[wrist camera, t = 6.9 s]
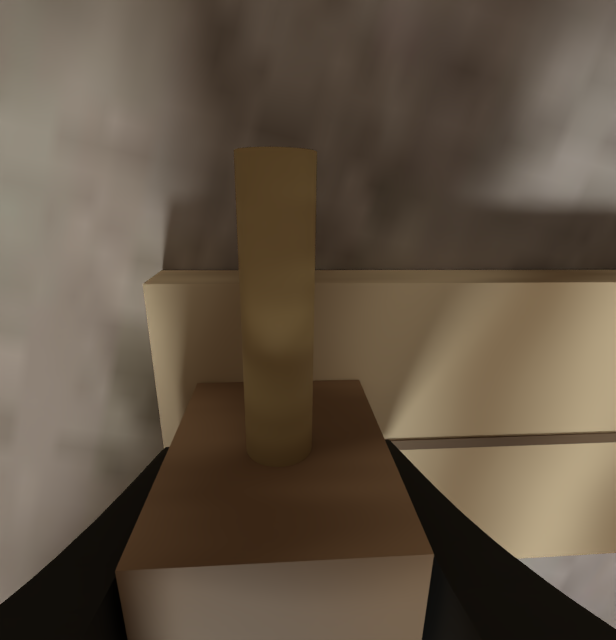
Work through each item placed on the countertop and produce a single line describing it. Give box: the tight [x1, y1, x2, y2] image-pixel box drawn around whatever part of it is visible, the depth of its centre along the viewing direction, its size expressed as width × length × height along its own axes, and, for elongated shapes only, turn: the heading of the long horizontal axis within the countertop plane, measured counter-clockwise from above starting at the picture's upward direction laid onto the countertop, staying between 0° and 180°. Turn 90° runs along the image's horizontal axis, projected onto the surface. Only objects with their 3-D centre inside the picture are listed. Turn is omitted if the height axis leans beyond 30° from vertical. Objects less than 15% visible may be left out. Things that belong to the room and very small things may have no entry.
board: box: [143, 270, 616, 559], centre depth 11 cm, size 18×9×2 cm, turn 89°
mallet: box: [115, 147, 434, 640], centre depth 7 cm, size 4×9×5 cm, turn 179°
